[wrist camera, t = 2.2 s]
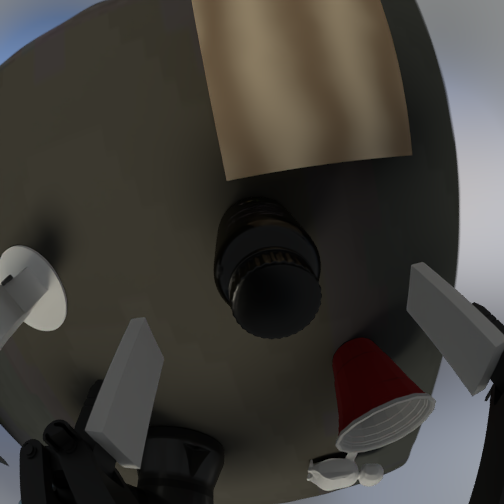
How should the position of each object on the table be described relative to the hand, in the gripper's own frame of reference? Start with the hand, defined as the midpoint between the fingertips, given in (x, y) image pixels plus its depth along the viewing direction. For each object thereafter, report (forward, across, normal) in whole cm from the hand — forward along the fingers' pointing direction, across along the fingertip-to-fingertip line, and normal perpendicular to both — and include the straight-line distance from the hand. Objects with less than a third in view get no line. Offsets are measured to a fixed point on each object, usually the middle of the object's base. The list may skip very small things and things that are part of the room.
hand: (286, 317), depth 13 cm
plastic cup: (+14, -9, +18) cm, 24 cm away
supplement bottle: (+14, 0, 0) cm, 14 cm away
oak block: (+14, -6, -13) cm, 19 cm away
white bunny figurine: (+13, -8, +50) cm, 52 cm away
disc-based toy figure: (+13, +27, +1) cm, 31 cm away
